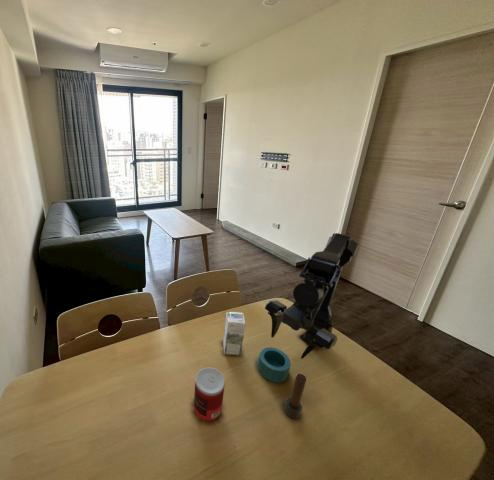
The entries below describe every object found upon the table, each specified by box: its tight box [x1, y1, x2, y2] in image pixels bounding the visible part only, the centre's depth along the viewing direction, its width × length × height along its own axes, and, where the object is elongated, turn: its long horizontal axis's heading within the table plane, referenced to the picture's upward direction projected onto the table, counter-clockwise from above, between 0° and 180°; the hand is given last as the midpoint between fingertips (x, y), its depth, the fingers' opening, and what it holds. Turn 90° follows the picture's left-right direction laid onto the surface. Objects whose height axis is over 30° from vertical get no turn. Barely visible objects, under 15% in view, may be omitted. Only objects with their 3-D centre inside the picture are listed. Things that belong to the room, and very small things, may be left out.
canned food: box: [193, 367, 226, 422], centre depth 68 cm, size 8×8×11 cm
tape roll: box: [257, 346, 292, 383], centre depth 81 cm, size 9×9×5 cm
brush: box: [283, 373, 307, 420], centre depth 67 cm, size 4×4×13 cm
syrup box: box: [222, 311, 247, 356], centre depth 87 cm, size 6×6×14 cm
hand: (286, 347), depth 73 cm, fingers open, 9 cm apart
